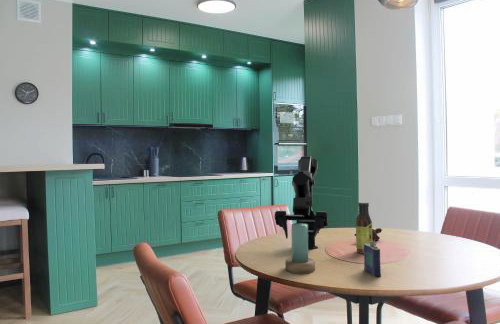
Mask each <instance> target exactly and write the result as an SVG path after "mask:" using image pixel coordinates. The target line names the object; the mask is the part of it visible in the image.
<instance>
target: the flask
mask: <svg viewBox="0 0 500 324" xmlns="http://www.w3.org/2000/svg"><path fill="white" fill-rule="evenodd" d="M376 241H377V240H374V241H369V242H370V244H364V253H363V270H364V271H365V272H367V274H370V275H371V276H372V277H373V278H381V277H382V271H381V270H382V269H381V249H380V248H379V247H378V246H377V245H376Z"/></svg>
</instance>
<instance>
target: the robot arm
mask: <svg viewBox="0 0 500 324" xmlns="http://www.w3.org/2000/svg"><path fill="white" fill-rule="evenodd" d="M313 157H314V156H311V155H307V156H306V155H303V156H301V157H300V159H298V160H297V169H298V171H297V172H296V173H295V174H294V175H293V176H292V181H291V185H292V187H293V192H294V197H293V198H292V213H293V214H288V213H287V210H276V211H275V212H274V221H275V225H277V226H279V227H280V228H282V230H283V232H284V235H285V238H286V240H287V239H288V236H289V232H288V231H289V230H288V221H295V223H305V224H308V250H310V249H317V248H318V246H317V245H316V239H315V238H316V237H317V234H319V233H320V231H321V230H322V229H324V228H325V227H327V226H329V222H328V221H329V218H328V212H327V211H326V210H324V211H323V210H322V211H320V210H316V212H314V210H313V207H314V205H313V204H314V202H313V201H314V197H313V188H314V187H315V184H316V181H315V178H316V176H317V171H318V170H319V169H318V168H319V165H318V163H319V162H318V160H317V159H315V158H313Z"/></svg>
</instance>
